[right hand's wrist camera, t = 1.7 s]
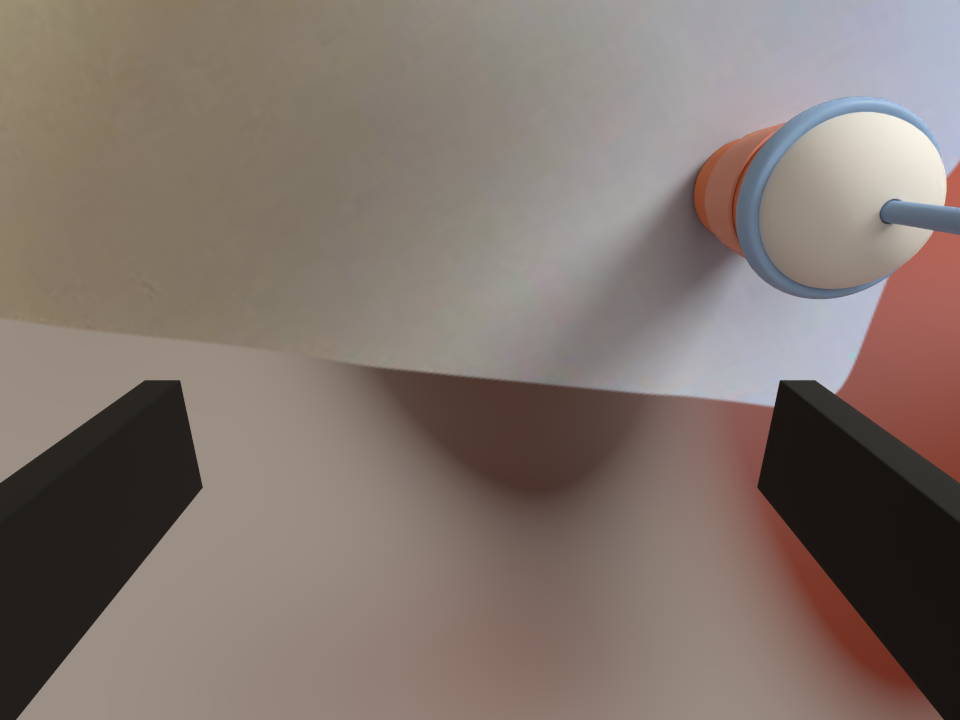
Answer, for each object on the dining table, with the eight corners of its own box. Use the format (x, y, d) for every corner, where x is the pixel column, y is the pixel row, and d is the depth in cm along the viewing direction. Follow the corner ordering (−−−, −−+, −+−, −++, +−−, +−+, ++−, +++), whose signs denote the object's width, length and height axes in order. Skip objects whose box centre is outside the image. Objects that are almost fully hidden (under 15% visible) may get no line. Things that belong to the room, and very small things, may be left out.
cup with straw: (676, 274, 37) (842, 376, 21) (661, 131, 34) (842, 112, 17) (815, 244, 37) (1103, 322, 20) (812, 95, 34) (1152, 39, 17)
